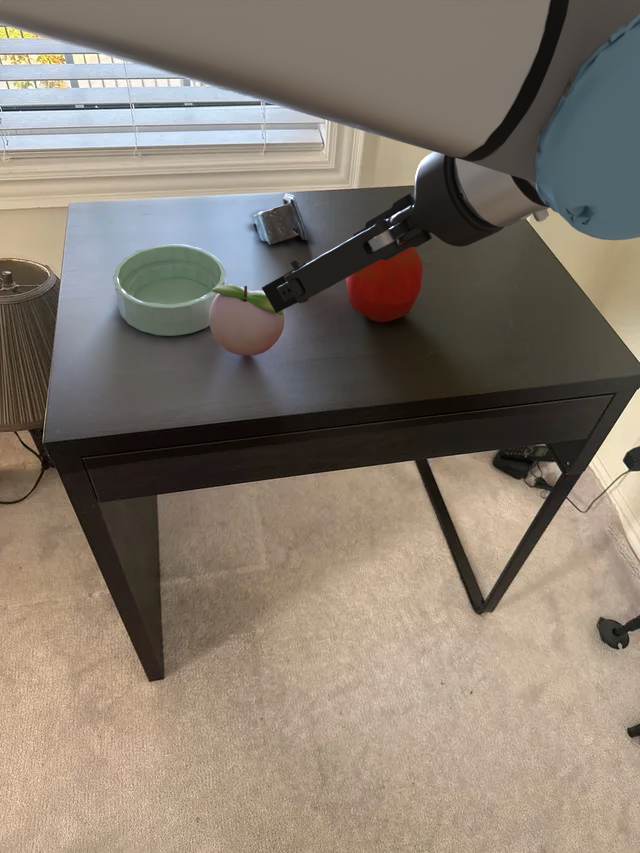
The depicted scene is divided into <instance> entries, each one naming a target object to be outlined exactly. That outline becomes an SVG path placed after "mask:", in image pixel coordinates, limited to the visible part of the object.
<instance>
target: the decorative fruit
mask: <svg viewBox="0 0 640 853" xmlns="http://www.w3.org/2000/svg"><path fill="white" fill-rule="evenodd" d="M211 291H212V292H216V293H219V294H218V295H217V296H216V297H215V299H214V300H213V302H212V305H211V308H210V313H209V325H210V326H209V329H210V331H211V334H212V336H213V338H214V339H215V341H216V342H217V344H218V345H219V346H221V348H222V349H224V350H225V351H227V352H229V353H231V354H235V355H237V356H238V355H239V356H257V355H261V354H264V353H266V352H267V351H269V350H270V349H271V348H272V347H273V346H274V345H275V344H276V343H277V342H278V340H279V339H280V337H281V335H282V333H283V331H284V327H285V314H284V310H282V311H280V312H278V313H276V312H275V311H274V309H273V307H272V305H271V304H270V302H269V300H268V298H267V296H266V295H265V293H264V291H263V290H249V289H248V286H247V285H244V286H243V287H242V286H239V285H235V284H232V283H226V284H225V285H220V286H218V287H215V288H213V289H212V290H211Z"/></svg>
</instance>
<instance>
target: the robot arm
mask: <svg viewBox="0 0 640 853" xmlns="http://www.w3.org/2000/svg"><path fill="white" fill-rule="evenodd" d="M0 26H3V27H7V28H11V29H15V30H19V31H21V32H25V33H27V34H32V35H35V36H39V37H42V38H45V39H49V40H52V41H54V42H59V43H62V44H66V45H69V46H73V47H76V48H79V49H83V50H86V51H89V52H93V53H96V54H100V55H103V56H105V57H106V56H107V57H110V58H114V59H116V60H120V61H123V62H127V63H131V64H133V65H138V66H139V67H140V66H141V67H144V68H148V69H151V70H154V71H157V72H161V73H164V74H168V75H171V76H174V77H178V78H182V79H185V80H188V81H192V82H195V83H199V84H203V85H205V86H209V87H212V88H216V89H219V90H223V91H226V92H230V93H233V94H236V95H240V96H243V97H247V98H250V99H252V100H257V101H260V102H264V103H267V104H270V105H274V106H277V107H281V108H283V109H288V110H291V111H294V112H297V113H301V114H305V115H308V116H310V117H311V116H312V117H315V118H319V119H322V120H325V121H327V122H328V121H329V122H332V123H335V124H339V125H342V126H345V127H349V128H352V129H355V130H359V131H362V132H365V133H369V134H373V135H376V136H379V137H383V138H387V139H389V140H392V141H397V142H400V143H403V144H407V145H410V146H414V147H417V148H421V149H424V150H428V151H431V152H429V153H428V154H427V155H425V157H424V158H423V159H422V160H421V161H420V163H419V165H418V167H417V170H416V173H415V178H414V190H413V195H412V193H408V194H406V195H404V196H403V197H401V198H399V199H398V200H396V201H394V202H393V204H392V205H391V207H390V208H389V209H386V210H385V211H383V212H382V213H380V214H378V215H377V216H375V217H373V218H371V219H370V220H368V221H367V222H366V223H365V225H364V228H362V229H360V230H359V231H357V232H355V233H354V234H352V236H353V237H351V238H348V240H346V241H344V242H342V243H340V244H338V245H337V246H336V247H334V248H332V249H330V250H328V251H327V252H324V253H323V254H321V255H319V256H318V257H317V258H314V259H312V260H311V261H309V262H304V263H302V264H301V263H300V261H299V259H298V258H295V259H294V260H293V261H291V262H290V265H291V267H292V269H291V270H290V271H288V272H285V274H283V275H281V276H280V277H278V278H276V279H274V280H272V281H271V282H269V283H268V284H265V285H263V286H262V287H261V289H262V291H264V293H265V295H266V296H267V298H268V300H269V302H270V304H271V305H272V307H273V309H274V311H275V312H276V313H278V312H280V311H282V310H283V311H284V310H286V309H288V308H290V307H292V306H294V305H296V304H297V303H298V304H304V303H306V302H308V301H309V299H310V298H312V297H314V296H316V295H318V294H319V293H322V292H323V291H325V290H328V289H329V288H331V287H332V286H334V285H336V284H338V283H340V282H342V281H343V280H346V278H347V277H349V276H351V275H353V274H355V273H356V272H358V271H360V270H362V269H364V268H366V267H368V266H369V265H371V264H373V263H375V262H377V261H379V260H381V259H382V260H388V259H390V258H392V257H393V256H395V255H397V254H399V253H401V252H402V251H404V250H406V249H408V248H410V247H414V248H418V247H419V246H422V245H423V244H425V243H427V242H429V241H430V240H432V239H433V236H432V235H434V236H435V237H436V238H438V239H439V240H440V241H442V242H444V243H445V244H447V245H449V246H452V247H453V246H454V247H458V248H459V247H467V246H470V245H472V244H475V243H476V242H479V241H481V240H484V239H485V238H487V237H490V236H492V235H495V234H497V233H499V232H500V231H502V230H503V229H505V228H506V227H511V226H513V225H515V224H517V223H520V222H522V221H524V220H526V219H528V218H530V217H531V216H533V218H534V220H535V221H536V222H538V223H541V222H543V221H545V220H547V218H548V217H549V216H550V215H549V211H548V210H549V209H551V211H553V213H554V212H555V213H557V214H559V215H560V217H561V218H563V220H565V222H567V223H568V224H569V225H570V227H572V228H573V229H575V230H576V231H578V232H579V233H581V234H584V235H586V236H588V237H591V238H593V239H594V238H595V239H599V240H605V241H626V240H631V239H637V238H638V239H639V238H640V0H0ZM403 242H404V243H403ZM400 243H402V244H401V245H399V244H400Z"/></svg>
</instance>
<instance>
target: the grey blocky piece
mask: <svg viewBox="0 0 640 853" xmlns="http://www.w3.org/2000/svg"><path fill="white" fill-rule="evenodd" d="M299 209H300V208H299V206H298V201H297V198H296V196H295V195H294V194H289V193H285V195H284V196H283V198H282V204H281V205H280V206H276V207H273V208H270V209H265V210H262V211H259V212H257V213H255V214H253V219H254V221H255V222H254V223H253V225H252V226H253V228H254V229H256V230H257V234H258V236H259V238H260V240H261V241H262V242H267V244H268V245H270V246H271V245H275V244H278V243H279V242H283V241H286V240H289V239H292V238H295V237H298V236H299V237H300V238H301V240H304V241H307V242H309V236H308V233H307V230H306V228H307V226H306V225H305V224H304V223H305V222H304V220H303V216H302V214H301V211H300V210H299Z"/></svg>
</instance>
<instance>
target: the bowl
mask: <svg viewBox="0 0 640 853" xmlns="http://www.w3.org/2000/svg"><path fill="white" fill-rule="evenodd" d="M112 280H113V285H114V291H115V293H116V301H117V305H118V309H119V314H120V316H121V317H122V318H123V319H124V321H125V322H126V323H127V324H128V325H130V326H131V327H133V328H134V329H137V330H138V331H141V332H144V333H146V334H147V333H148V334H152V335H155V336H168V337H169V336H170V337H175V336H176V337H177V336H183V335H189V334H193V333H196V332H199V331H201V330H203V329H206V328H208V327H210V325H209V313H210V308H211V305H212V302H213V300H214V299H215V297H216V296H217V295H218V294H219V293H216V292H212V291H211V290H212V289H213V288H215V287H218V286H220V285H225V284H227V273H226V269H225V267H224V265H223V263H222V261H221V260H219V259H218V257H216V255H214V254H213V253H210V252H209V251H206V250H205V249H203V248H199V247H196V246H191V245H187V244H170V243H169V244H162V245H161V244H159V245H153V246H149V247H145V248H143V249H139V250H136V251H135V252H133V253H131V254H129V255H127V256H126V257H124V258H123V259H122V260H121V261H120V262H119V263H118V264H117V266H116V267H115V269H114V271H113V275H112Z"/></svg>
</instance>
